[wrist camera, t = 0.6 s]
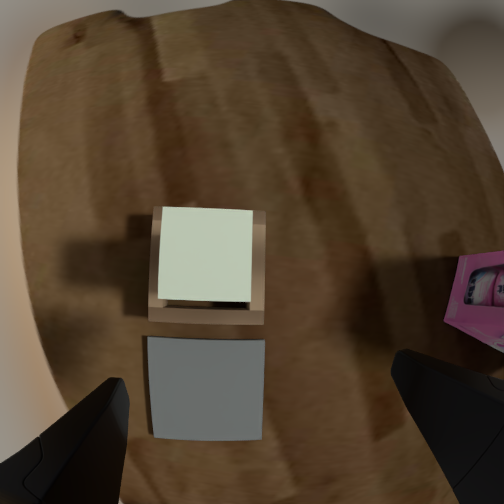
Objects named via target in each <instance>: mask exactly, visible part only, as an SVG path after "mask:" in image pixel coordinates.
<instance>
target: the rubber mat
mask: <svg viewBox="0 0 504 504" xmlns="http://www.w3.org/2000/svg"><path fill="white" fill-rule="evenodd" d="M264 354H265V340H264V339H199V338H176V337H159V336H148V369H149V386H150V400H151V412H152V423H153V432H154V437H155V438H166V439H180V440H202V441H237V440H259V439H262V414H263V386H264Z"/></svg>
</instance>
